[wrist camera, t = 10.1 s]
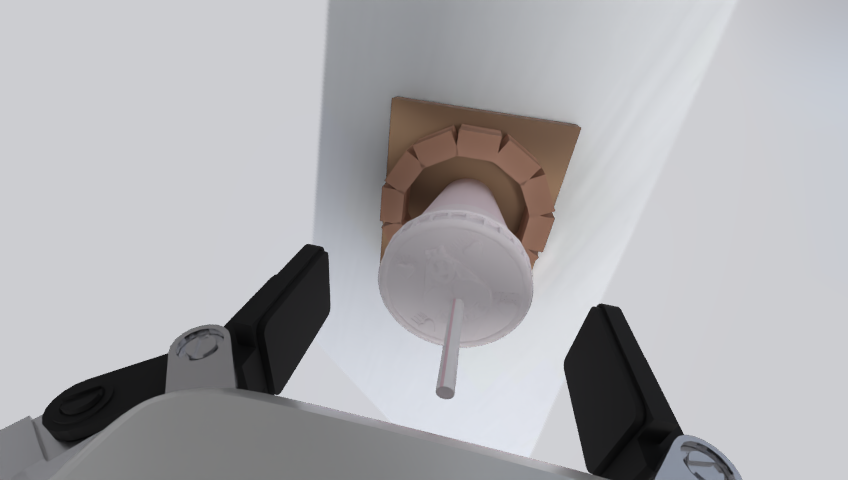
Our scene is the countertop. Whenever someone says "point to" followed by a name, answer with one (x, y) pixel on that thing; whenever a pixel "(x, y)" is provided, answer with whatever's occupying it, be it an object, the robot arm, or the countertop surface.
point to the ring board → (475, 164)
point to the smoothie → (457, 275)
